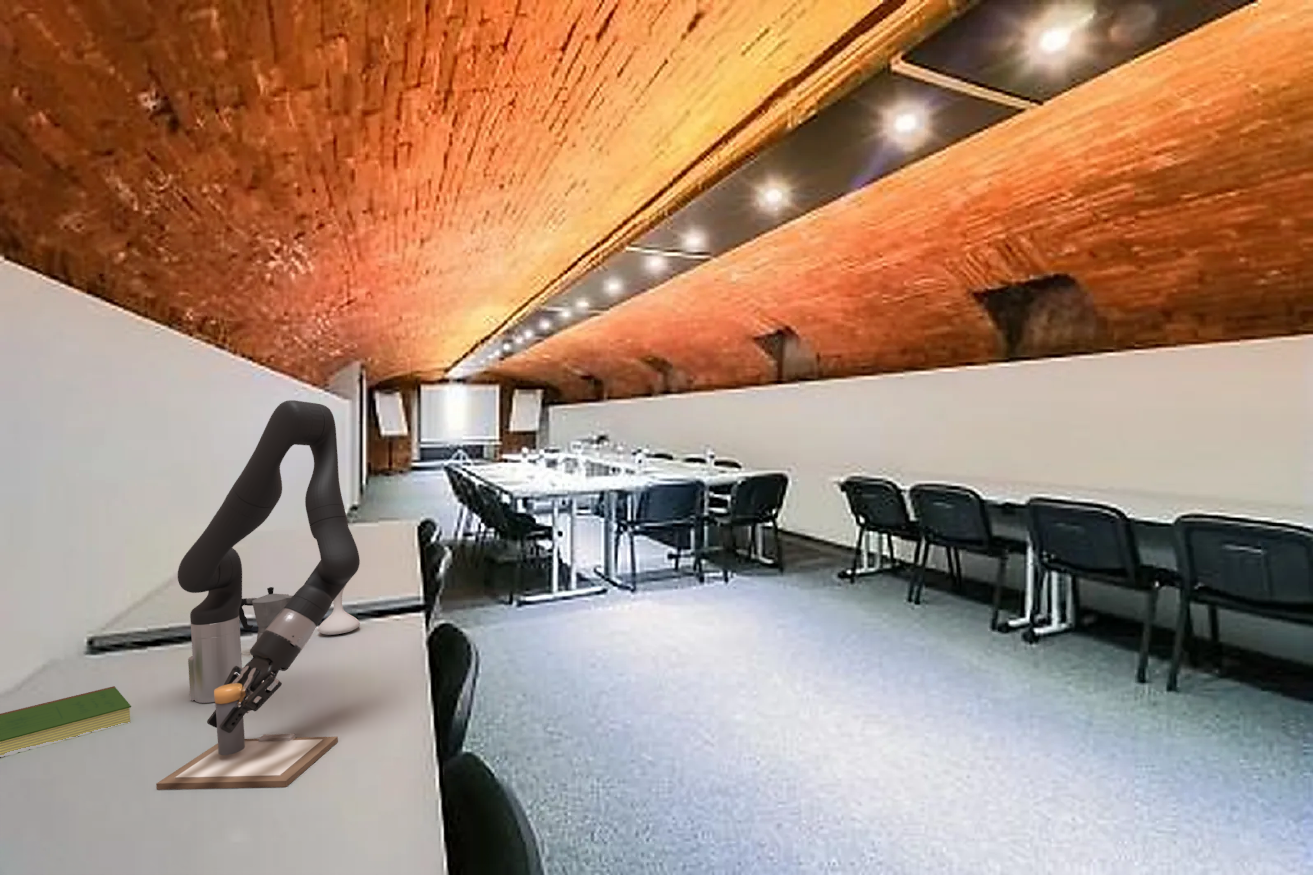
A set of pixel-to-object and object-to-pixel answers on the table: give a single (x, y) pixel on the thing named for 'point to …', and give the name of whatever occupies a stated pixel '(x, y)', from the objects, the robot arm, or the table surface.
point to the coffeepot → (264, 609)
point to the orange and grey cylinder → (224, 704)
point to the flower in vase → (338, 619)
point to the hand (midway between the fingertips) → (218, 727)
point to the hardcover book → (62, 719)
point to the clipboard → (251, 764)
